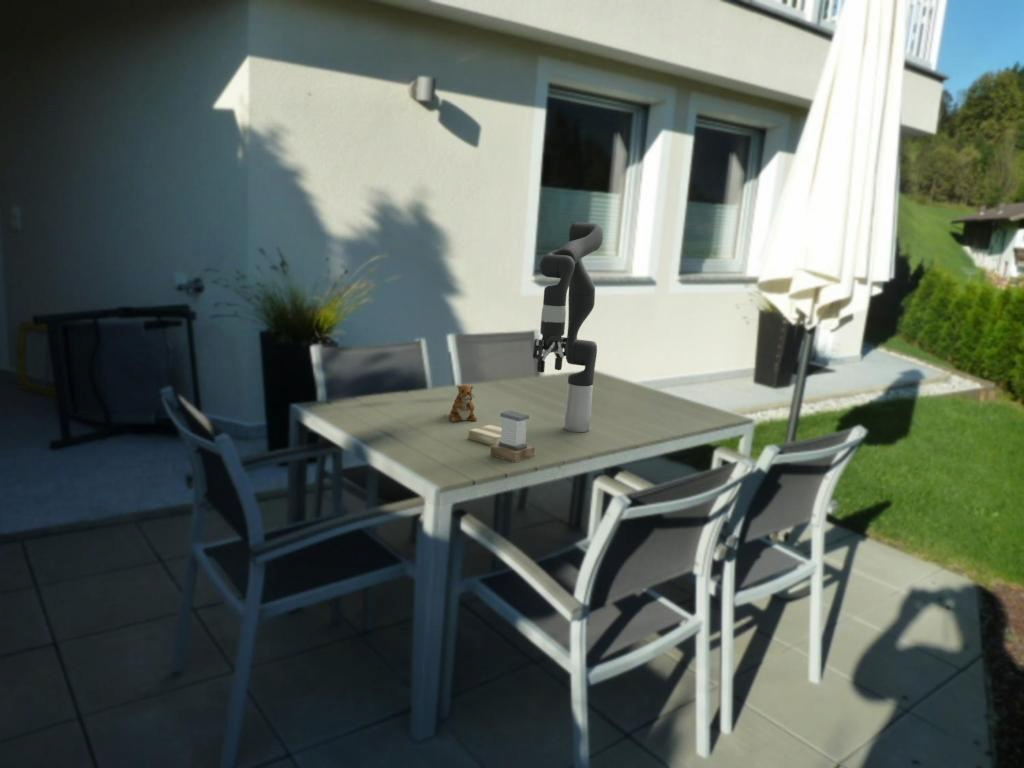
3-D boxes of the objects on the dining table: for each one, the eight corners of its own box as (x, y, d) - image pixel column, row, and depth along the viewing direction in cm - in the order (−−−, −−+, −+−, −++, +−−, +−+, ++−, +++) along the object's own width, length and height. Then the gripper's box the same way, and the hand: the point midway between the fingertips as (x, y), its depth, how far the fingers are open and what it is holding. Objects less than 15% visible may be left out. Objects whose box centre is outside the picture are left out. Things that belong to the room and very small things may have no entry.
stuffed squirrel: (451, 423, 278) (453, 388, 276) (445, 413, 292) (447, 379, 289) (478, 422, 281) (480, 388, 278) (471, 413, 294) (473, 380, 291)
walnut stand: (510, 448, 251) (510, 440, 250) (533, 456, 245) (534, 447, 244) (490, 454, 243) (490, 445, 243) (514, 462, 237) (515, 453, 237)
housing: (508, 442, 248) (510, 410, 246) (526, 447, 243) (529, 415, 241) (498, 445, 244) (500, 412, 242) (517, 450, 239) (519, 417, 237)
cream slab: (491, 432, 269) (491, 424, 268) (517, 439, 262) (518, 431, 261) (468, 438, 260) (469, 430, 259) (495, 446, 253) (495, 437, 252)
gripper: (558, 317, 243) (554, 367, 246) (529, 319, 233) (525, 371, 236) (576, 320, 238) (572, 371, 242) (548, 322, 228) (544, 375, 231)
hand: (549, 371), depth 239 cm, fingers open, 8 cm apart
